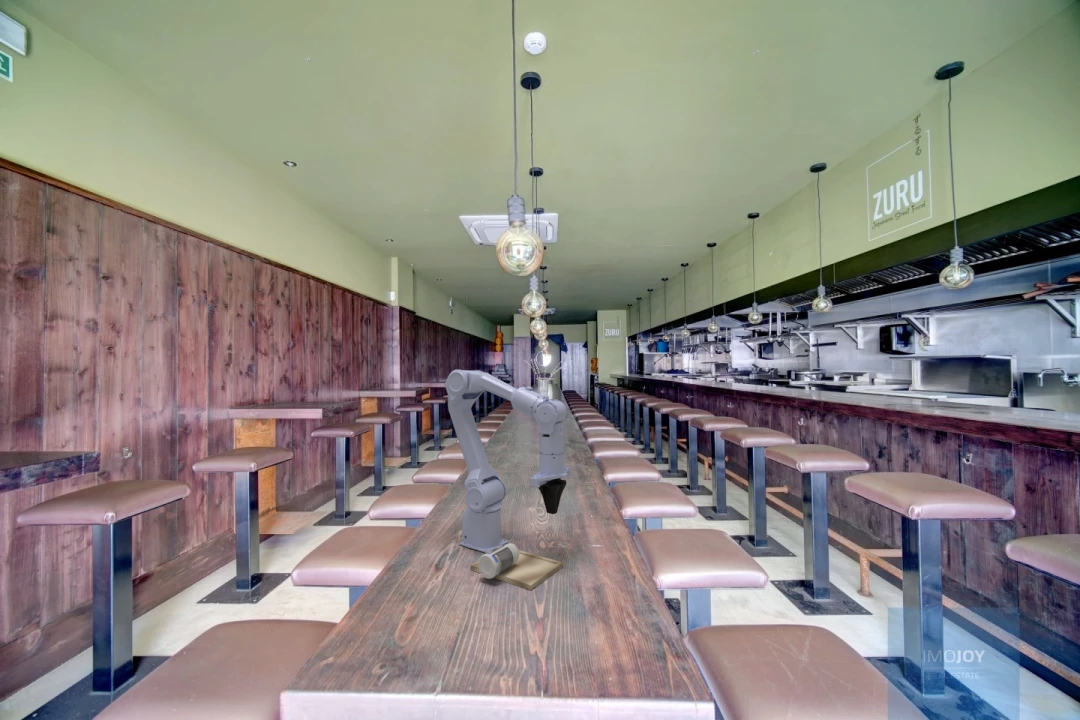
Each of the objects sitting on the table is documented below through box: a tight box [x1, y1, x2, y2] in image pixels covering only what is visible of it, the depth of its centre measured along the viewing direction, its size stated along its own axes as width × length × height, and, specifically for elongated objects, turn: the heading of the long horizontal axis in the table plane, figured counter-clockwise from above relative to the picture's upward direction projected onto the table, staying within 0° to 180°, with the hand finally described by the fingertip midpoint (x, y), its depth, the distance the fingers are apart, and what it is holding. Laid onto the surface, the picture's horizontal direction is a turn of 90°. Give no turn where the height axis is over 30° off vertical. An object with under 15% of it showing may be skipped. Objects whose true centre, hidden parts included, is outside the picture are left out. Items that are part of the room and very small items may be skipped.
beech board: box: [469, 549, 564, 591], centre depth 89 cm, size 16×12×1 cm
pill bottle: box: [478, 542, 519, 580], centre depth 86 cm, size 5×5×8 cm
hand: (551, 512), depth 94 cm, fingers closed
